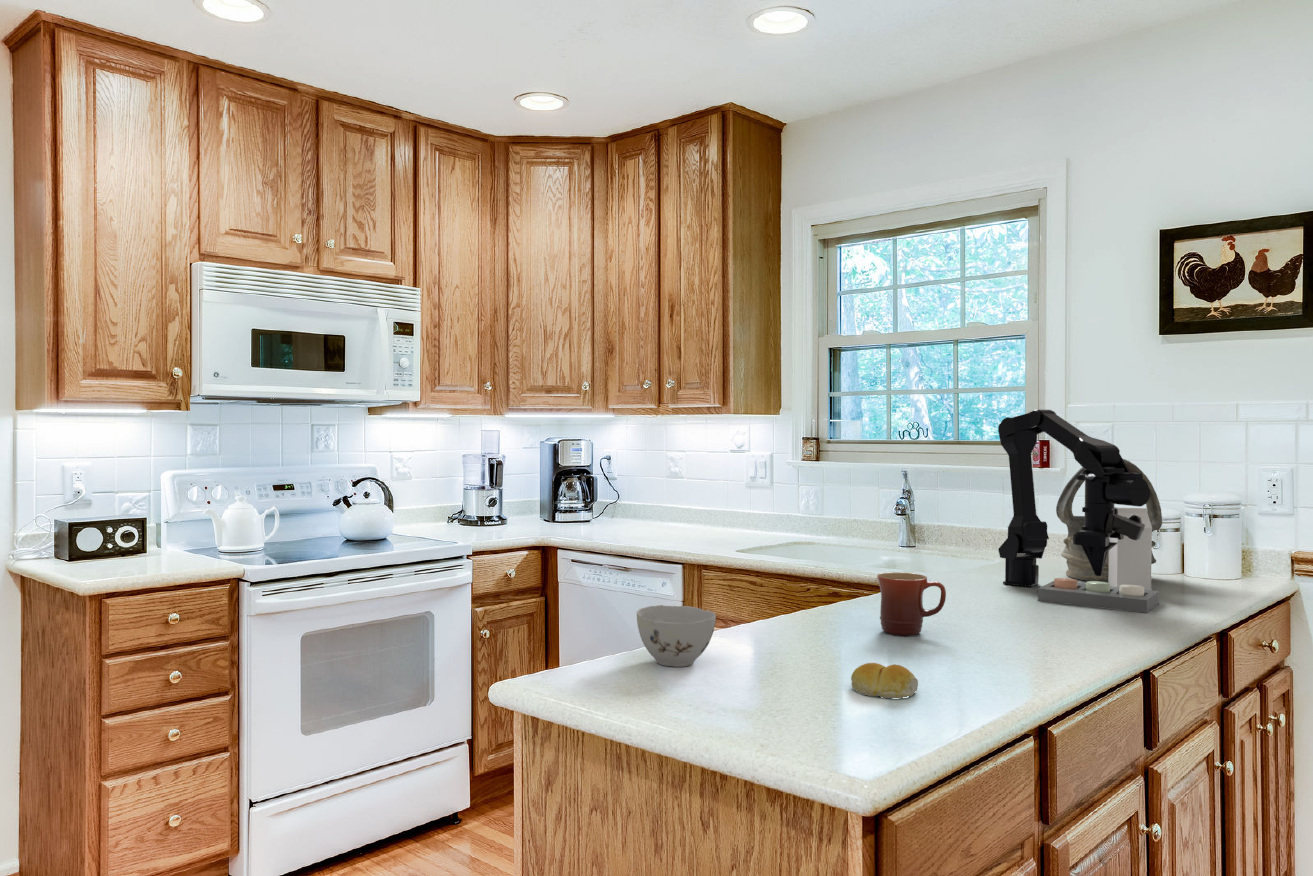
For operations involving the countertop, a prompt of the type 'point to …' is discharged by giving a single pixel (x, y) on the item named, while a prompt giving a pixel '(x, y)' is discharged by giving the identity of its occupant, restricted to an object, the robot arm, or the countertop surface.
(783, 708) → the countertop surface
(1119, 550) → the milk carton
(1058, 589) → the panel
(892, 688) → the bread roll
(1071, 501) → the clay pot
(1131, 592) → the cream button
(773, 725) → the countertop surface
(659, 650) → the teacup
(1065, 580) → the terracotta button
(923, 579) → the mug
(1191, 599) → the countertop surface
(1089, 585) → the sage button
